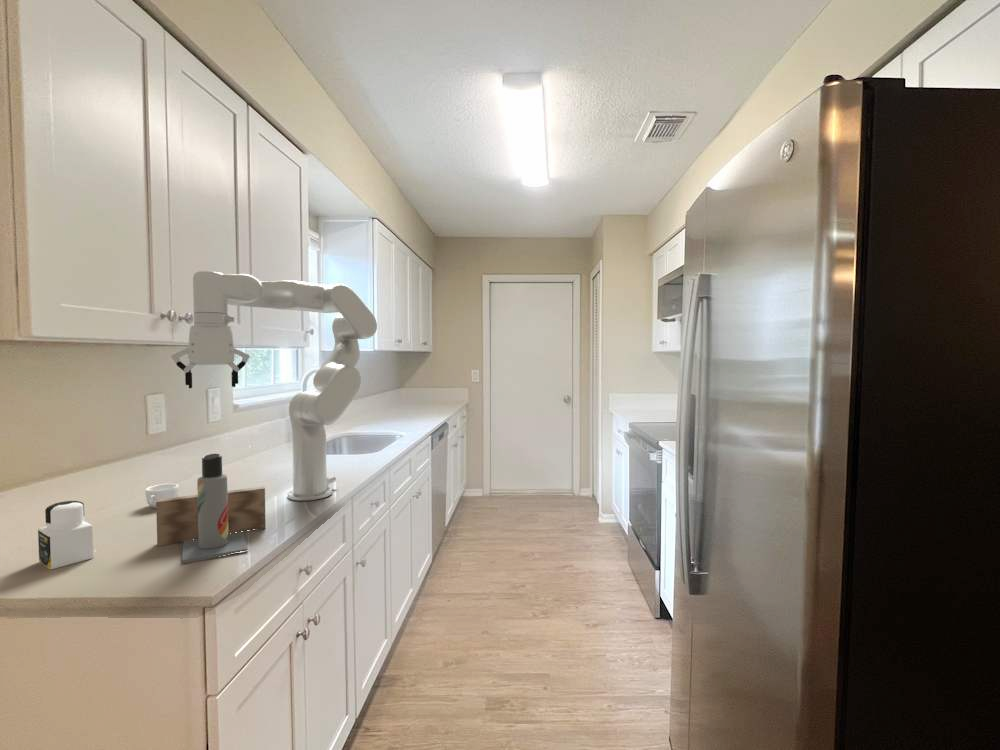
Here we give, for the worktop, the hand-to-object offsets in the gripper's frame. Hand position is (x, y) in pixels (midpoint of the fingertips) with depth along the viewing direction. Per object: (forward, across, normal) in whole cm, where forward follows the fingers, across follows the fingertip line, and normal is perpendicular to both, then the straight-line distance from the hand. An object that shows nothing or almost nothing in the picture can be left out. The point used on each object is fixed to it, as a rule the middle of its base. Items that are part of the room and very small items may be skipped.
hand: (212, 387), depth 128 cm
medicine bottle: (+34, +27, +14) cm, 46 cm away
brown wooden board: (+34, +1, +14) cm, 37 cm away
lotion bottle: (+34, +1, +22) cm, 40 cm away
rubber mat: (+34, +1, +23) cm, 41 cm away
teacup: (+35, +13, -19) cm, 42 cm away
